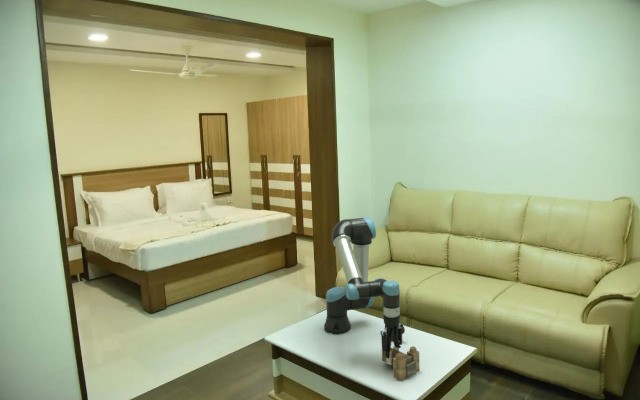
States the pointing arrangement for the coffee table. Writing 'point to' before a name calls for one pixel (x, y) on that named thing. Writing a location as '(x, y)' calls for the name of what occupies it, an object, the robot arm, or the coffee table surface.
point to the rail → (394, 353)
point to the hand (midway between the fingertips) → (392, 361)
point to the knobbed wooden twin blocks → (406, 370)
